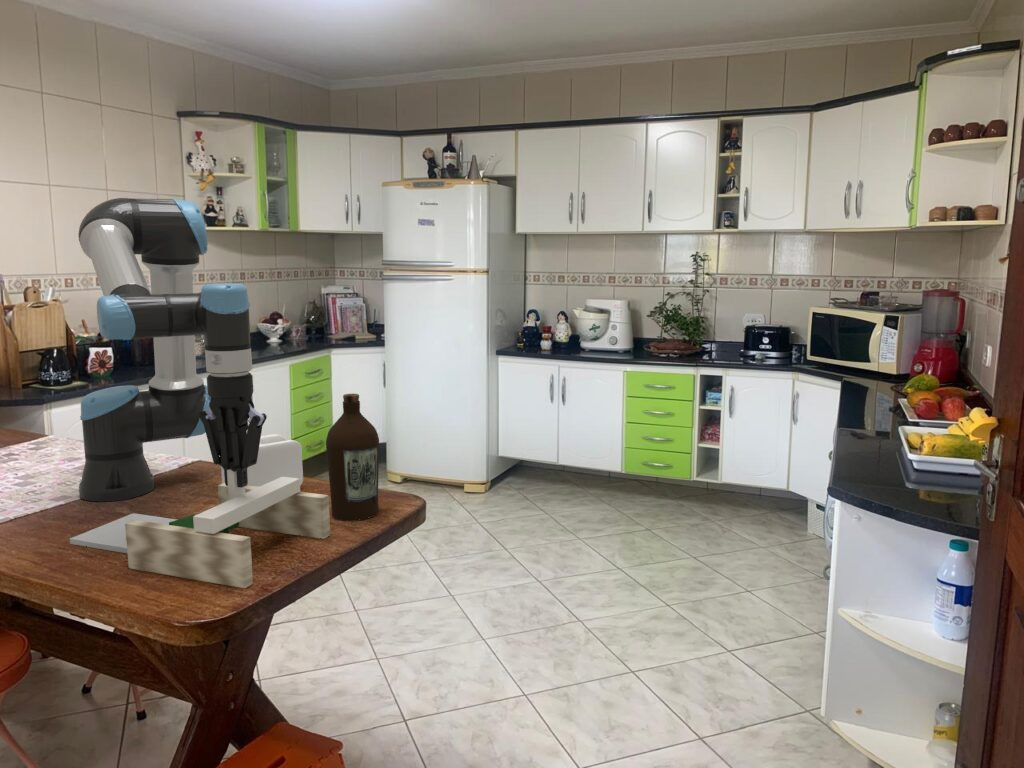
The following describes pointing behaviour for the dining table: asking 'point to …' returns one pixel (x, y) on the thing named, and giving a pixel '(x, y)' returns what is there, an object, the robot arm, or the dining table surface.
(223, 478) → the cable organizer
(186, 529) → the stand
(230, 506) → the strap bar
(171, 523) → the clamp
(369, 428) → the olive oil
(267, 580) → the dining table surface
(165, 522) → the grey pad
